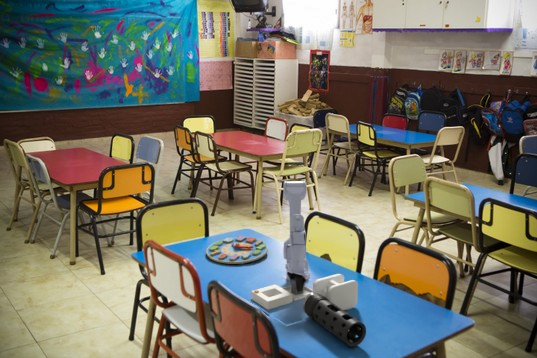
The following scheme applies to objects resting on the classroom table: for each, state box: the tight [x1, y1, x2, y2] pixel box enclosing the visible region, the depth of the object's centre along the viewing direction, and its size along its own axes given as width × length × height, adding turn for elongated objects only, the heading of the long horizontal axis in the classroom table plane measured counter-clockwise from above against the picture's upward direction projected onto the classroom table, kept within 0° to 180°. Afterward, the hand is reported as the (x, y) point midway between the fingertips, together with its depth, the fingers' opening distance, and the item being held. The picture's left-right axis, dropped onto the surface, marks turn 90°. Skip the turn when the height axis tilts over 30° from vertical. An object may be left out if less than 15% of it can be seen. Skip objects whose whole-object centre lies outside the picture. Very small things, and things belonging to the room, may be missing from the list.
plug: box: [290, 279, 303, 295], centre depth 242 cm, size 4×3×6 cm
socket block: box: [250, 283, 293, 310], centre depth 235 cm, size 12×12×5 cm
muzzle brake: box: [302, 293, 367, 349], centre depth 210 cm, size 10×28×10 cm, turn 29°
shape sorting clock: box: [205, 235, 269, 265], centre depth 288 cm, size 31×30×6 cm
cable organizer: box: [312, 273, 359, 311], centre depth 230 cm, size 15×11×12 cm
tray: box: [282, 284, 313, 302], centre depth 242 cm, size 11×11×2 cm
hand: (297, 289), depth 242 cm, fingers closed on plug, 3 cm apart
